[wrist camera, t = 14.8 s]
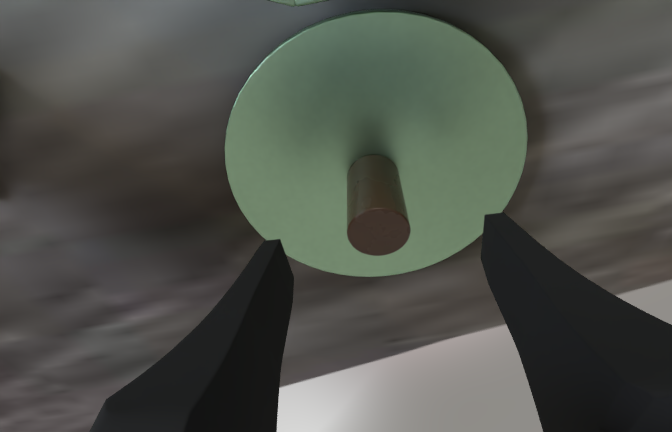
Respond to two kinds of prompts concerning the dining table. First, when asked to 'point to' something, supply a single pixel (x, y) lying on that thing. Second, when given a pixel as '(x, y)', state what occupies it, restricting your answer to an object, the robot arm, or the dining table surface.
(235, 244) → the dining table surface
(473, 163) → the lid
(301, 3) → the pot
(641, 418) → the robot arm
